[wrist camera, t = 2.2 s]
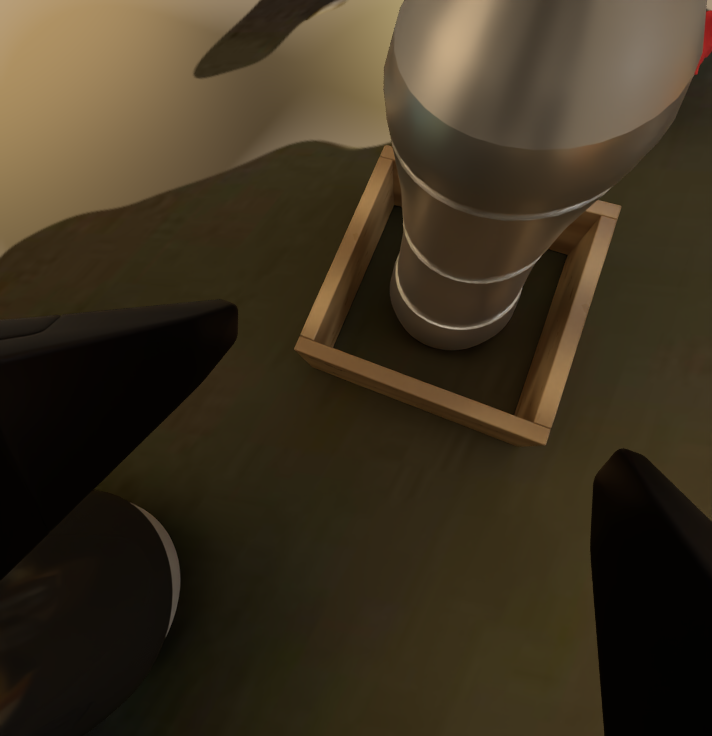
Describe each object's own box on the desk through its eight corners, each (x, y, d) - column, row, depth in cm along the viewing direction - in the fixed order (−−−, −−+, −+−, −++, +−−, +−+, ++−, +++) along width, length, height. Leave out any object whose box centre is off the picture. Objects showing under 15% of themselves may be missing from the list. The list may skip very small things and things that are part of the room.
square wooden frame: (519, 447, 21) (546, 445, 17) (311, 366, 23) (293, 349, 19) (584, 247, 23) (622, 205, 19) (387, 191, 25) (384, 144, 21)
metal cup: (409, 246, 24) (448, -594, 5) (518, 275, 23) (1152, -688, 4) (376, 340, 23) (248, -256, 4) (488, 375, 22) (1166, -236, 3)
